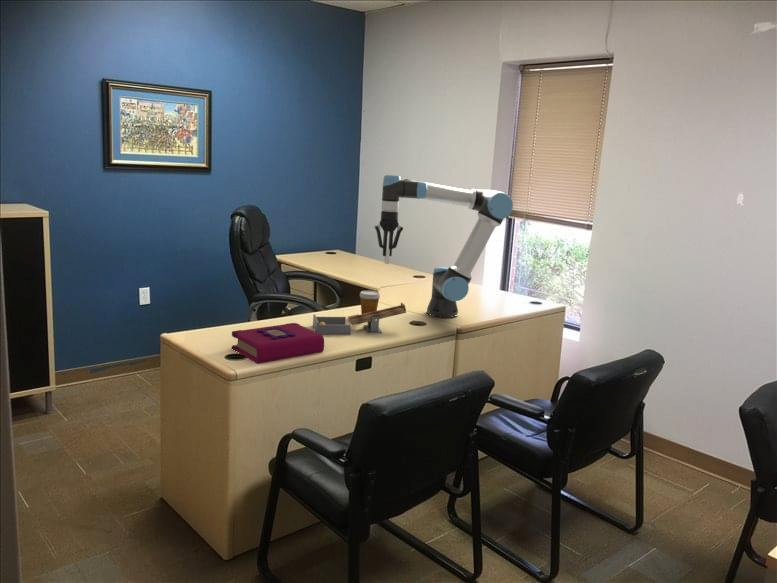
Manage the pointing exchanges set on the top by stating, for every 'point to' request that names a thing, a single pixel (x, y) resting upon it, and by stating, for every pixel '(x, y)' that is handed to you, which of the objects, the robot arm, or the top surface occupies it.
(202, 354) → the top surface
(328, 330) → the tray
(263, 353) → the book
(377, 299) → the disposable coffee cup
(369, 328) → the fulcrum
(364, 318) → the lever
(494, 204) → the robot arm
